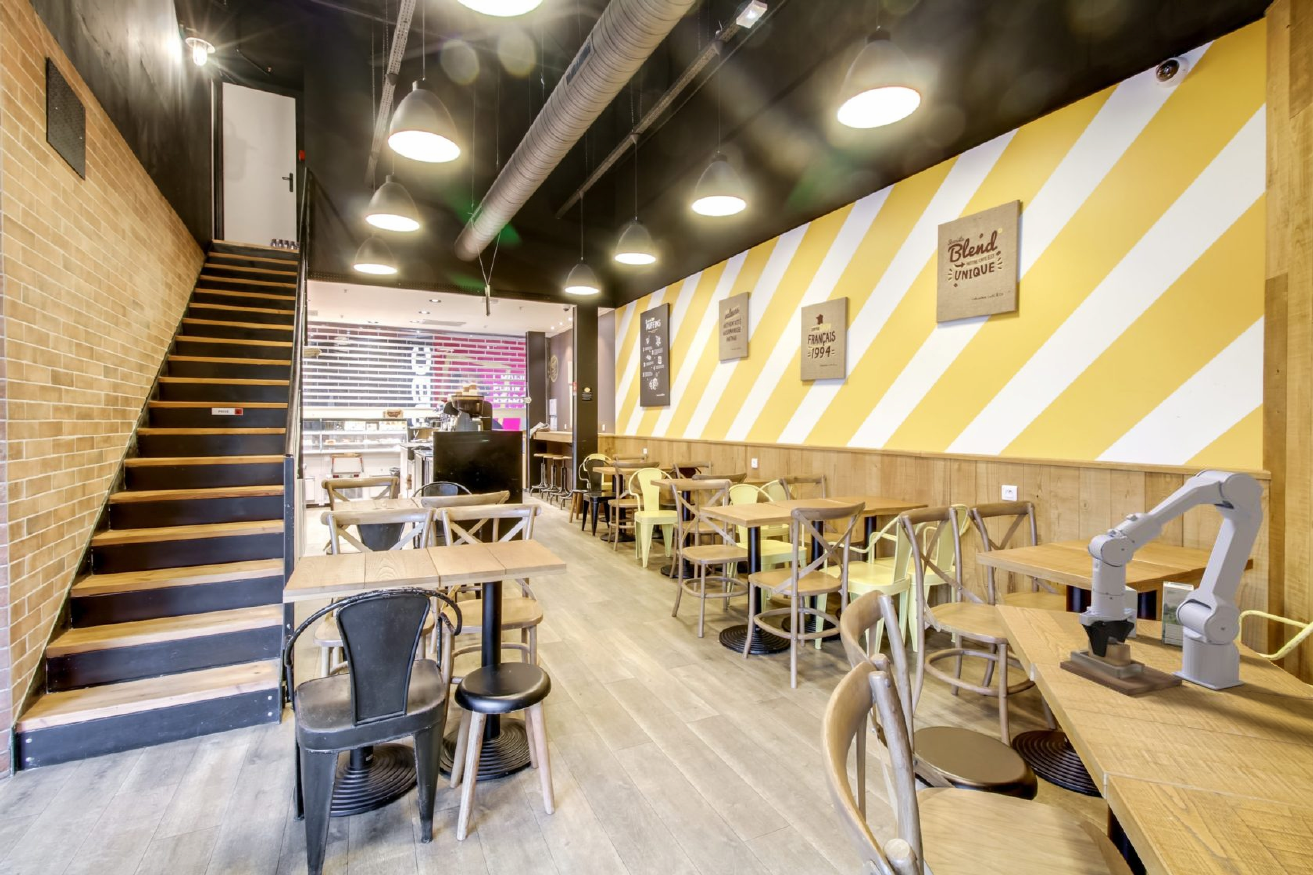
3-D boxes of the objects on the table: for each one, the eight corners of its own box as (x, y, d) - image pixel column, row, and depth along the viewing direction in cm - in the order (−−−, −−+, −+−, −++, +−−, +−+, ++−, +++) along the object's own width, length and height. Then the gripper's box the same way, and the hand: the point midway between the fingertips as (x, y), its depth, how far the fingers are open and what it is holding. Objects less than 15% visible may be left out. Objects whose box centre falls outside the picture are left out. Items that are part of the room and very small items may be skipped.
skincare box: (1137, 638, 150) (1138, 590, 150) (1117, 637, 151) (1119, 589, 151) (1123, 630, 156) (1124, 584, 156) (1105, 628, 157) (1106, 583, 157)
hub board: (1112, 658, 137) (1112, 644, 137) (1182, 684, 124) (1182, 668, 124) (1060, 667, 132) (1060, 652, 132) (1127, 695, 119) (1127, 678, 119)
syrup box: (1192, 642, 147) (1193, 584, 147) (1192, 649, 143) (1194, 589, 142) (1161, 637, 151) (1163, 579, 151) (1161, 643, 147) (1163, 584, 146)
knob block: (1102, 659, 132) (1101, 633, 133) (1131, 668, 127) (1130, 641, 127) (1089, 662, 131) (1087, 635, 131) (1117, 671, 125) (1116, 643, 126)
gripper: (1113, 584, 135) (1111, 643, 136) (1065, 589, 131) (1064, 651, 131) (1147, 592, 128) (1145, 655, 129) (1098, 598, 124) (1096, 663, 124)
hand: (1106, 654), depth 130 cm, fingers closed on knob block, 4 cm apart
